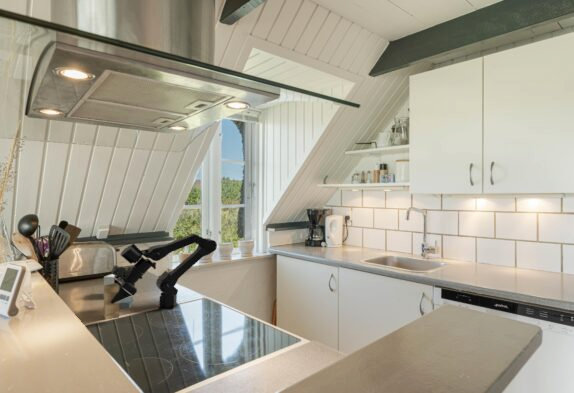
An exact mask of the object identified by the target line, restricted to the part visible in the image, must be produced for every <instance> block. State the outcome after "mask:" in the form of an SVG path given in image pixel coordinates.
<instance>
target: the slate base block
mask: <svg viewBox="0 0 574 393" xmlns="http://www.w3.org/2000/svg"><path fill="white" fill-rule="evenodd" d="M133 304H134V296H129V297H126V298H124V299H122V300H120V301H119V310H122V309H124V310H125V309H130V307H131V306H133Z"/></svg>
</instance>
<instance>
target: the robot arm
mask: <svg viewBox="0 0 574 393" xmlns="http://www.w3.org/2000/svg"><path fill="white" fill-rule="evenodd" d="M193 244H197V245H198V246H197V248H196V249H195V250H194V251H193V252H192V253H190V254H189V255H188V257H186V258H185V259H184V260H183V261H182V262H180V264H178V265H177V266H176V267H175V268H173V270H171V271H170V272H168V271H167V270H164V271H163V273H162V274H160V275H159V276H157V277H158V278H157V279H156V282H155V285H156V287H157V288H158V289H159V290H160V292H161V293H160V295H159V306H158V309H164V310H165V309H166V310H167V309H168V310H169V309H170V310H172V309H174V308H175V307H177V306H178V304H179V303H178V302H177V297H178V296H177V295H178V292H179V290H178V288H176V287H175V286H176V284H177V282H178V280H179V279H180V278H182V276H183V275H185V273H187V272H188V271H189V270H190V269H191V268H192V267H193V266H194V265H195V264H196V263H198V262H199V261H200V260H201V259H202V258H203V257H206V256H209V255H210V254H212V253H213V252H215V251H216V250H217V249H218V247H217V246H218V245H217V244H218V243H217V241H216V240H214V239H211V238H208V237H207V238H204V237H203V236H200V235H199V234H197V233H190V234H188V235H186V236H184V237H181V238H179V239H175V240H173V241H170V242H168V243H165V244H164V243H163V244H157V245H156V244H155V245H153V246H150V247H149V248H145V249H141V250H140V248H138V247H137V245H136V244H134V243H132V244H130V245H128V246H127V247H125V248H124V249H122V251H121V252H120V254H119V256H121V257H122V258H123V259H124V260H125V261H127V262H128V263H129V264H134V265H132V267H131V266H130V267H128V268H126V267H124V266H118V265H116V264H115V265H113V267H112V269H111V271H110V274H113V275H115V276H114V277H115V278H116V279H115V278H114V284H116V283H117V284H118V285H119V291H118V292H117V294H116V295H115V296H114V298H113V299H112V300H111V303H112V304H113V303H115V302H117V301H120V300H122V299H124V298H126V297H133V296H135V295H136V293H137V291H138V289H137V287H136V283H137V282H138V281H139V280H142V279H143V276H144V275H145V274H146V273H147V272H148V270H149V269H150V268H152V269H153V270H156V269H157V267H156V266H157V262H158V261H161V260H163V259H164V258H166V257H167V256H168V255H170V253H172V252H175V251H178V250H180V249H182V248H185V247H188V246H190V245H193ZM150 259H151V260H150Z"/></svg>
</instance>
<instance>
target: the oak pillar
mask: <svg viewBox="0 0 574 393" xmlns="http://www.w3.org/2000/svg"><path fill="white" fill-rule="evenodd" d="M118 291H119V285H118V284H117V283H116V284H108V285H104V284H103V317H104V320H111V319H112V318H113V319H118V318H120V309H119V301H117V302H115V303H113V304H112V303H111V300H112V299H113V298H114V296H115V295H116V294H117V292H118Z"/></svg>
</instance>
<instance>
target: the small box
mask: <svg viewBox="0 0 574 393" xmlns="http://www.w3.org/2000/svg"><path fill="white" fill-rule="evenodd" d="M114 276H115V275H113V274H112V273H110V274H107V275H105V276H104V275H103V286H104V285H108V284H114V278H115V277H114ZM115 279H116V278H115Z"/></svg>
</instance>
